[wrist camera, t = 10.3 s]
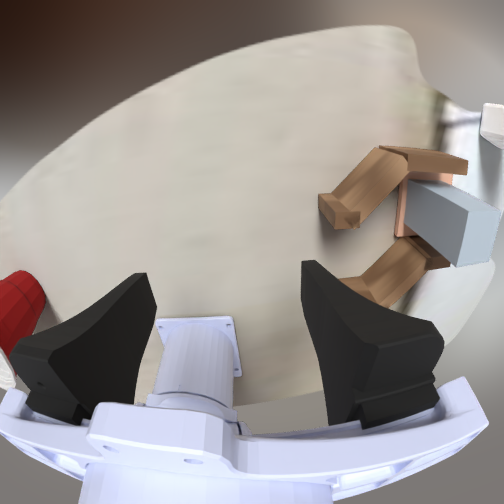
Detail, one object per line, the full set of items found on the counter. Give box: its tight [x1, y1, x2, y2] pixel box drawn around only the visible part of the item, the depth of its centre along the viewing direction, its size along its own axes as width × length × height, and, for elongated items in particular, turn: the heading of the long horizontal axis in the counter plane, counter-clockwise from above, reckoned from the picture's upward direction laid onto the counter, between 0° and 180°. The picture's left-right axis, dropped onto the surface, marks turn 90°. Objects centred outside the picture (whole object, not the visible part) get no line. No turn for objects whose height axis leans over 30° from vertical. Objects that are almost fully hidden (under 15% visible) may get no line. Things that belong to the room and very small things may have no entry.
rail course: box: [318, 146, 468, 309], centre depth 20 cm, size 13×12×4 cm
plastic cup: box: [0, 270, 46, 390], centre depth 19 cm, size 11×11×12 cm
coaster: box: [394, 171, 453, 237], centre depth 21 cm, size 7×6×1 cm
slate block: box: [404, 179, 501, 267], centre depth 17 cm, size 4×4×8 cm
